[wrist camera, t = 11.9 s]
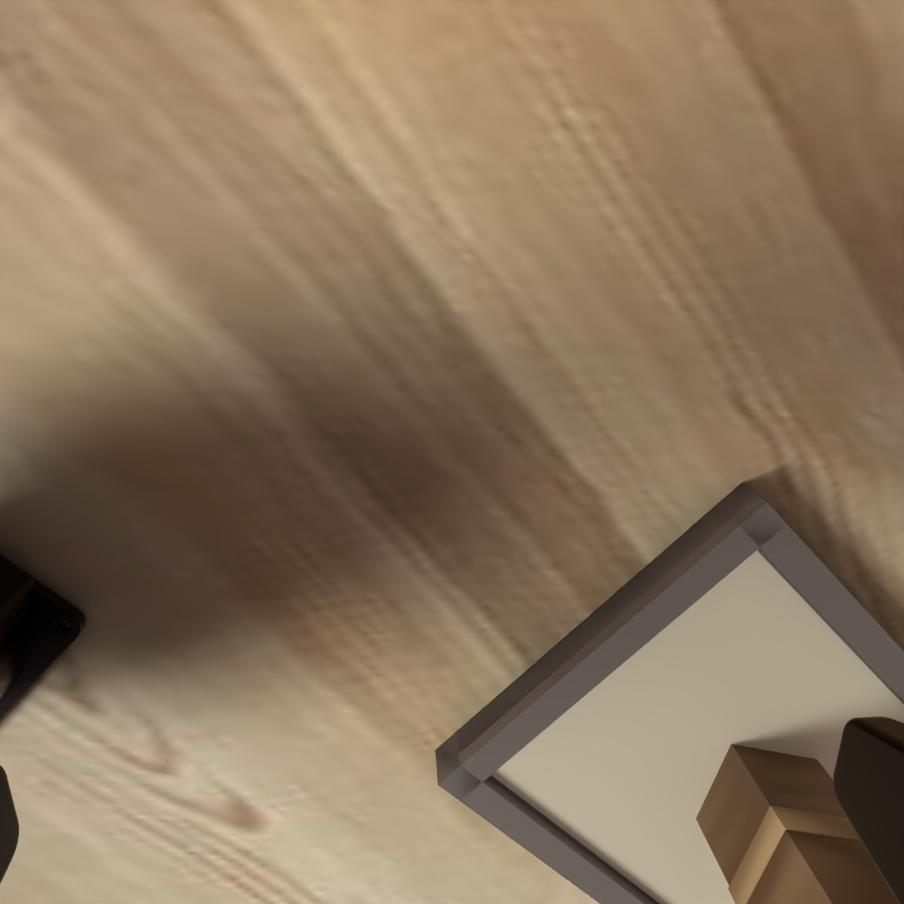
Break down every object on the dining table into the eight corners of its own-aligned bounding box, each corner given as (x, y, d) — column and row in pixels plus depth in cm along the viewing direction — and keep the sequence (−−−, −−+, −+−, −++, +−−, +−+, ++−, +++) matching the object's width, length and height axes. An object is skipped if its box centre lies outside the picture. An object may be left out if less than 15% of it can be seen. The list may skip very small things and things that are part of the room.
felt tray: (738, 978, 28) (756, 1018, 27) (435, 750, 23) (438, 784, 22) (1016, 780, 26) (1051, 813, 25) (742, 483, 21) (766, 502, 20)
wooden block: (693, 819, 24) (831, 1097, 16) (730, 742, 23) (893, 1000, 15) (779, 833, 25) (950, 1109, 17) (819, 758, 24) (1018, 1015, 16)
